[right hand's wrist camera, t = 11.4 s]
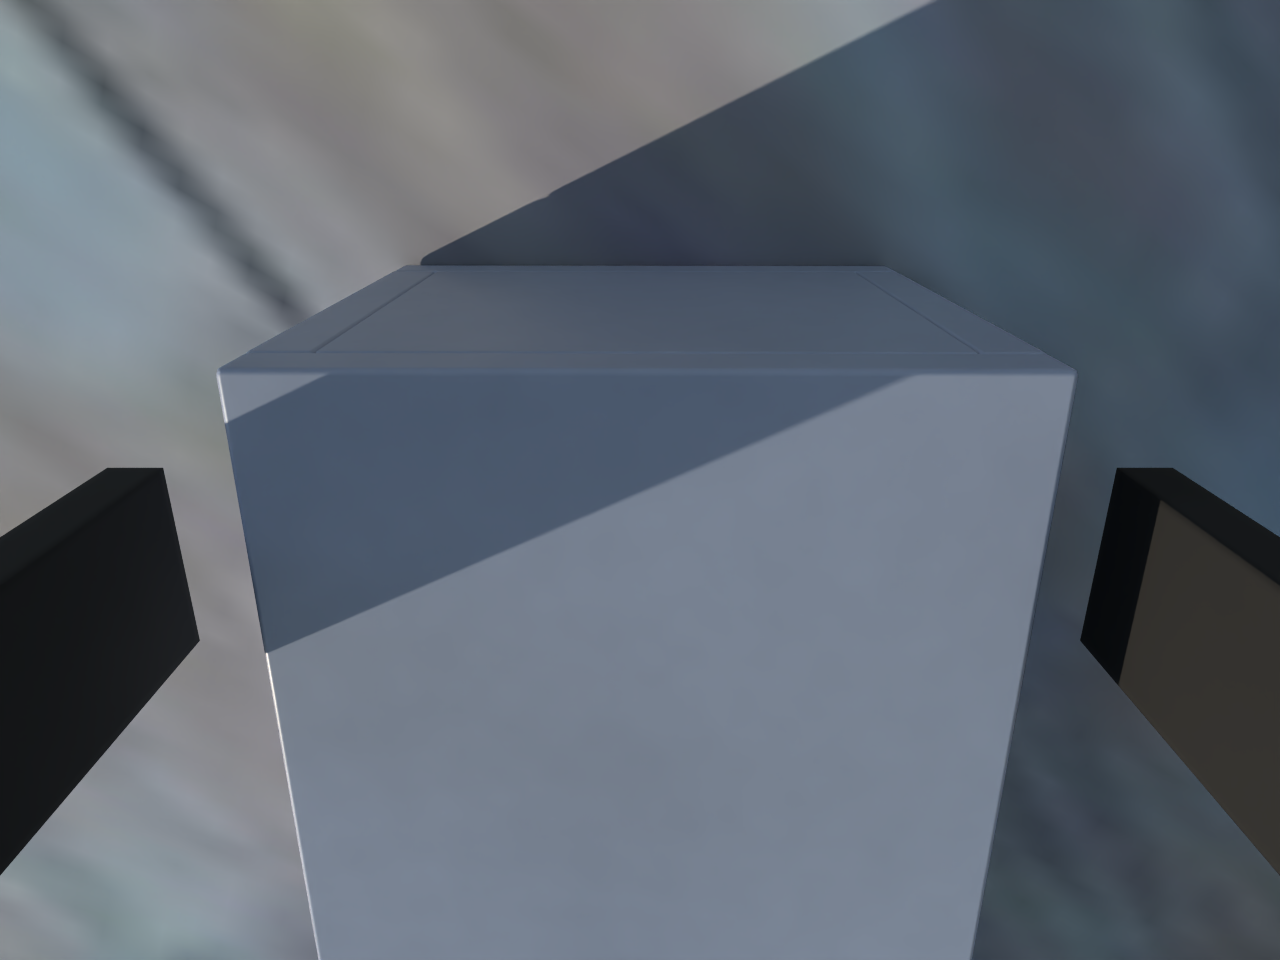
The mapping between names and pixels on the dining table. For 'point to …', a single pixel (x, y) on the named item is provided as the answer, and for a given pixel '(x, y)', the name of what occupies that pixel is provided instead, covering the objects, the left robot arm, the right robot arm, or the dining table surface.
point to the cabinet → (646, 606)
